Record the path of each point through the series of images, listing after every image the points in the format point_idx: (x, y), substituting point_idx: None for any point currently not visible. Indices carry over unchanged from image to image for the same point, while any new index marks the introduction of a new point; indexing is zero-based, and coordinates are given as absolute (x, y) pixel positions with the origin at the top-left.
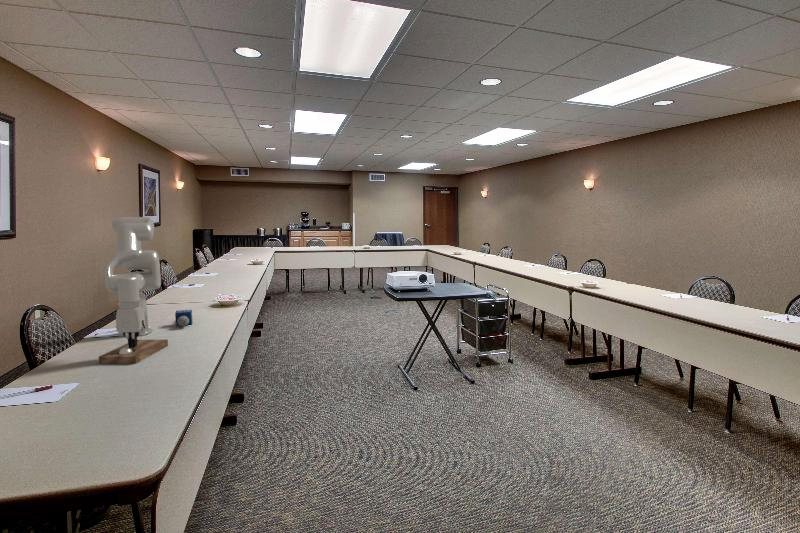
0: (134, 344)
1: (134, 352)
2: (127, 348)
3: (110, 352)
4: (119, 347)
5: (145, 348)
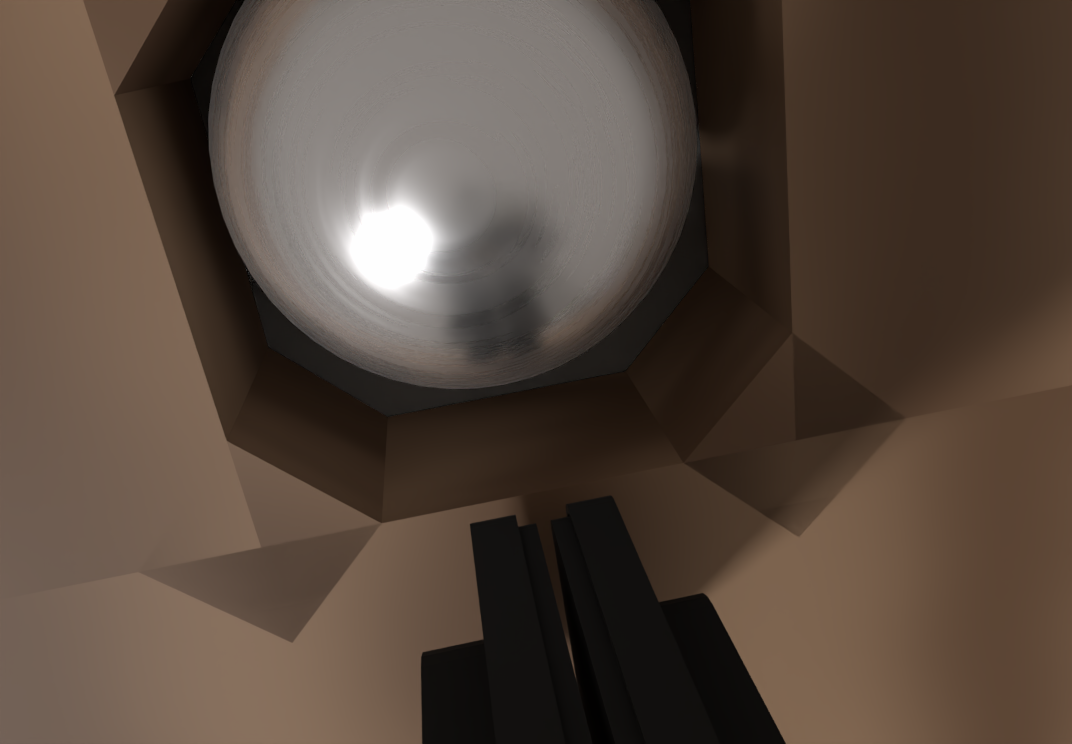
0: (446, 661)
1: (79, 209)
2: (343, 181)
3: (1057, 63)
4: (1063, 579)
5: (123, 671)
